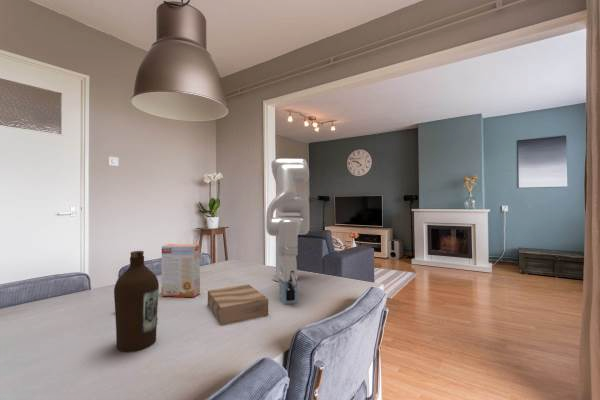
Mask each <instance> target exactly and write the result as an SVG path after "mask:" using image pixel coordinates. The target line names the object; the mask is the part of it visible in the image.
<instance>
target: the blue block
mask: <svg viewBox="0 0 600 400" xmlns="http://www.w3.org/2000/svg"><path fill="white" fill-rule="evenodd" d="M290 281H291V280H289V281H288V282H290ZM290 284H291V283H289V286H290ZM286 290H287V282H286V283H284V282H283V281H282V280H281V279H280V280H279V282H278V295H279V296H278V300H279V302H280V303H282V305H289V304H297V303H298V280H296V285H295V300H291V301H287V300H286Z"/></svg>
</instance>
